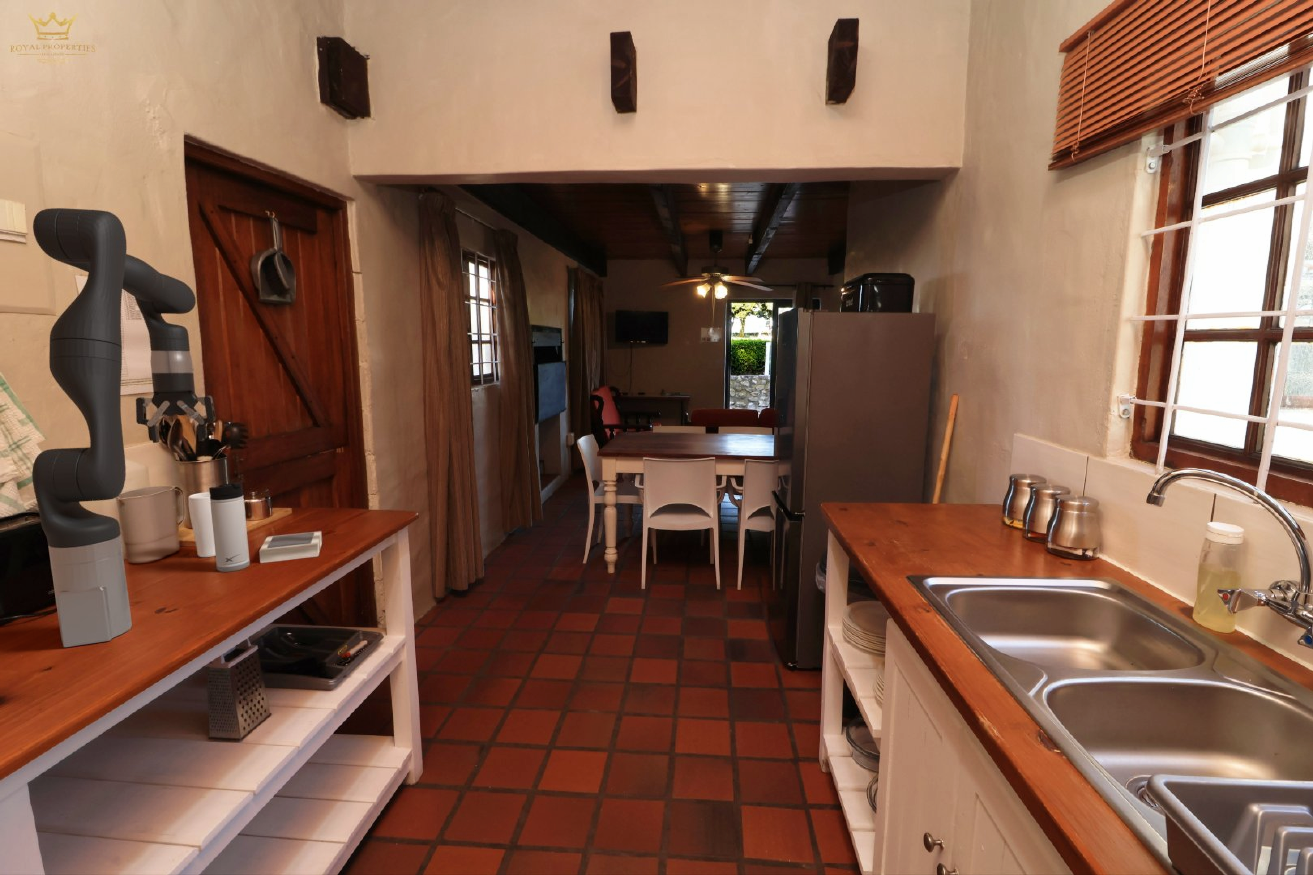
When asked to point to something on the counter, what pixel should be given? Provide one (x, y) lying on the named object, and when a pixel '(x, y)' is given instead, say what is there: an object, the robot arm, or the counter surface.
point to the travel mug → (229, 527)
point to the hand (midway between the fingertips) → (179, 441)
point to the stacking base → (291, 547)
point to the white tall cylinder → (202, 523)
